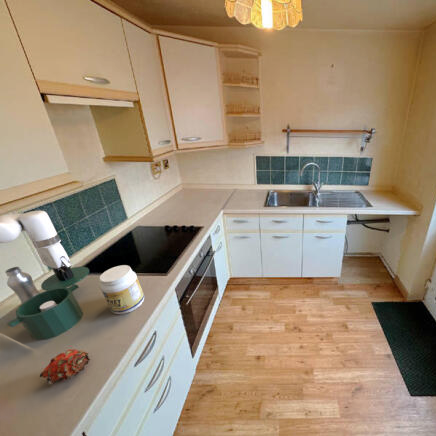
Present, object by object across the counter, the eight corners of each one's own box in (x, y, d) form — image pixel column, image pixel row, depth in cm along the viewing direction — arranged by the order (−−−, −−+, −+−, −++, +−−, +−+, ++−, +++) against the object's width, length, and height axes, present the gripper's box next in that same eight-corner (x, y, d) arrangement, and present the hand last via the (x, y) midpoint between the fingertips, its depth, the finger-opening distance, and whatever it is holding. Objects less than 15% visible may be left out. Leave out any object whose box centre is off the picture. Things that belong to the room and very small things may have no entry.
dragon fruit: (98, 368, 75) (54, 388, 71) (96, 342, 78) (53, 359, 74) (80, 371, 67) (30, 394, 64) (78, 342, 71) (30, 361, 67)
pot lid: (33, 287, 96) (25, 274, 93) (75, 265, 109) (69, 254, 106) (57, 295, 91) (49, 282, 88) (98, 272, 104) (92, 260, 102)
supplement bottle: (45, 329, 86) (32, 310, 82) (57, 317, 91) (45, 299, 87) (60, 328, 87) (48, 309, 83) (71, 316, 92) (60, 298, 88)
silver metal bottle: (21, 313, 94) (-7, 275, 86) (37, 301, 100) (12, 264, 92) (37, 313, 94) (11, 274, 86) (52, 301, 100) (29, 264, 92)
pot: (14, 340, 83) (-5, 317, 78) (76, 301, 100) (63, 279, 95) (38, 352, 79) (20, 328, 73) (99, 309, 96) (87, 287, 91)
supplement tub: (104, 314, 93) (87, 282, 86) (126, 293, 104) (113, 262, 97) (131, 316, 92) (117, 284, 84) (151, 295, 103) (140, 264, 95)
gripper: (21, 242, 91) (42, 278, 99) (48, 249, 86) (68, 286, 94) (45, 233, 98) (63, 268, 105) (71, 239, 93) (88, 275, 100)
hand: (65, 276), depth 99 cm, fingers closed on pot lid, 4 cm apart
